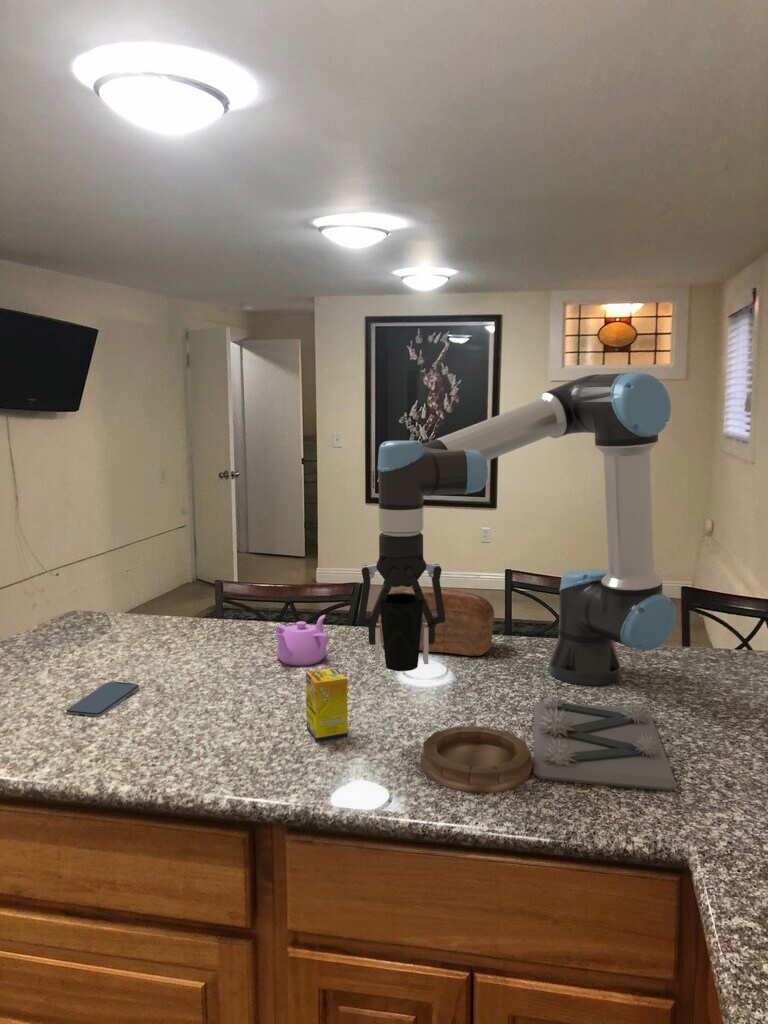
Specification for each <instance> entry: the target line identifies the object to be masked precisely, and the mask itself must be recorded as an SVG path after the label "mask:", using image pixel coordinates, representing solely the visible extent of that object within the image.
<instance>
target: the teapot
mask: <svg viewBox="0 0 768 1024" xmlns="http://www.w3.org/2000/svg"><path fill="white" fill-rule="evenodd" d="M325 617H326V614H323V615H320V616H319V618H318V620H317V622H316V625H315V626H314V625H313V624H307V622H306V621H302V620H301V621H296V623H295V624H293V625H290V626H288V627H287V626H285V625H283V624H281V623H280V624H279V623H277V624H276V625H275V634H274V635H275V636H276V637H277V639H278V641H277V642H278V643H277V647H276V656H277V658H278V659H279V660H280V662H282V663H283V664H285V665H289V666H296V667H298V666H299V667H300V666H302V667H303V666H313V665H315V664H318V663H320V662H321V661H322V660H323V659H324V658H325V656H326V655H327V645H328V642H329V635H328V634H327V633H324V629H323V628H324V626H323V623H324V619H325ZM283 631H284V632H283Z"/></svg>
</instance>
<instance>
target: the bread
mask: <svg viewBox="0 0 768 1024" xmlns="http://www.w3.org/2000/svg"><path fill="white" fill-rule="evenodd" d="M421 590H422V592H423V594H424V597H425V599H426V601H427V604H428V606H429V608H430V611H431V613H432V615H433V616H434V615H437V611H436V605H435V598H434V592H433V587H432V588H431V587H430V588H421ZM394 593H409V594H415V592H414V590H413V588H401V589H397V590H394V591H392V592H391V591H390V592H389V594H394ZM441 593H442V599H443V606H444V612H445V619H446V620H445V622H444V623H439V624H437V625H436V626H435V642H434V644H428V652H431V653H449V654H456V655H463V656H471V657H472V656H482V655H485V653H488V651H489V650H490V649H491V646H492V642H493V628H494V618H495V609H494V606H493V605H492V603H491V602H490V601H489V600H487V599H486V598H484V597H483V596H480V595H477V594H474V593H471V592H466V591H461V590H455V589H447V588H441ZM377 622H378V624H380V645H382V646H383V647H384V642H383V632H382V623H381V613H380V615H379V618H378V620H377ZM423 623H427V620H426V618H425V616H424V613H423V614H422V625H421V636H420V647H419V651H422V652H423Z"/></svg>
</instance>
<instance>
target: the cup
mask: <svg viewBox="0 0 768 1024" xmlns="http://www.w3.org/2000/svg"><path fill="white" fill-rule="evenodd" d="M380 602H381V623H382V632H383V642H384V646H383V651H384V662H385V668H387V670H390V671H394V672H409V671H414V670H416V669H417V668H418V666H419V656H420V655H419V654H420V650H419V647H420V636H421V625H422V614H423V611H422V608H423V600H421V601H419V602H418V599H417V597H416V595H415V594H409V593H394V594H390V593H389V594H388V596H387V599H386V601H385V602H384V601H380Z"/></svg>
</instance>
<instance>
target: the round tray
mask: <svg viewBox="0 0 768 1024" xmlns="http://www.w3.org/2000/svg"><path fill="white" fill-rule="evenodd" d="M422 744H423V745H422V746H423V747H422V753H421V756H420V767H421V770H422V772H423V773H424V775H426V777H427V778H429V779H430V780H431V781H433V782H435V783H437V784H439V785H441V786H443V787H445V788H448V789H453V790H456V791H462V792H466V793H467V792H468V793H478V794H479V793H481V794H485V793H486V794H487V793H489V794H490V793H499V792H500V793H501V792H504V791H505V792H506V791H509V790H512V789H515V788H518V787H520V786H522V785H523V784H525V783H526V782H527V781H528V780H529V779H530V778H531V775H532V772H533V762H532V752H531V751H530V748H529V747H528V746H529V745H528V744H527V742H526V741H525V740H523V739H522V738H521V737H520V738H519V737H518V736H516V735H514V734H513V733H510V732H509V731H505V730H501V729H496V728H492V727H486V726H454V727H450V728H445V729H443V730H442V729H441V730H438V731H434V732H433V733H432V734H431V735H430V736H428V738H426V739H425V740H424V741H423V743H422Z"/></svg>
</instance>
